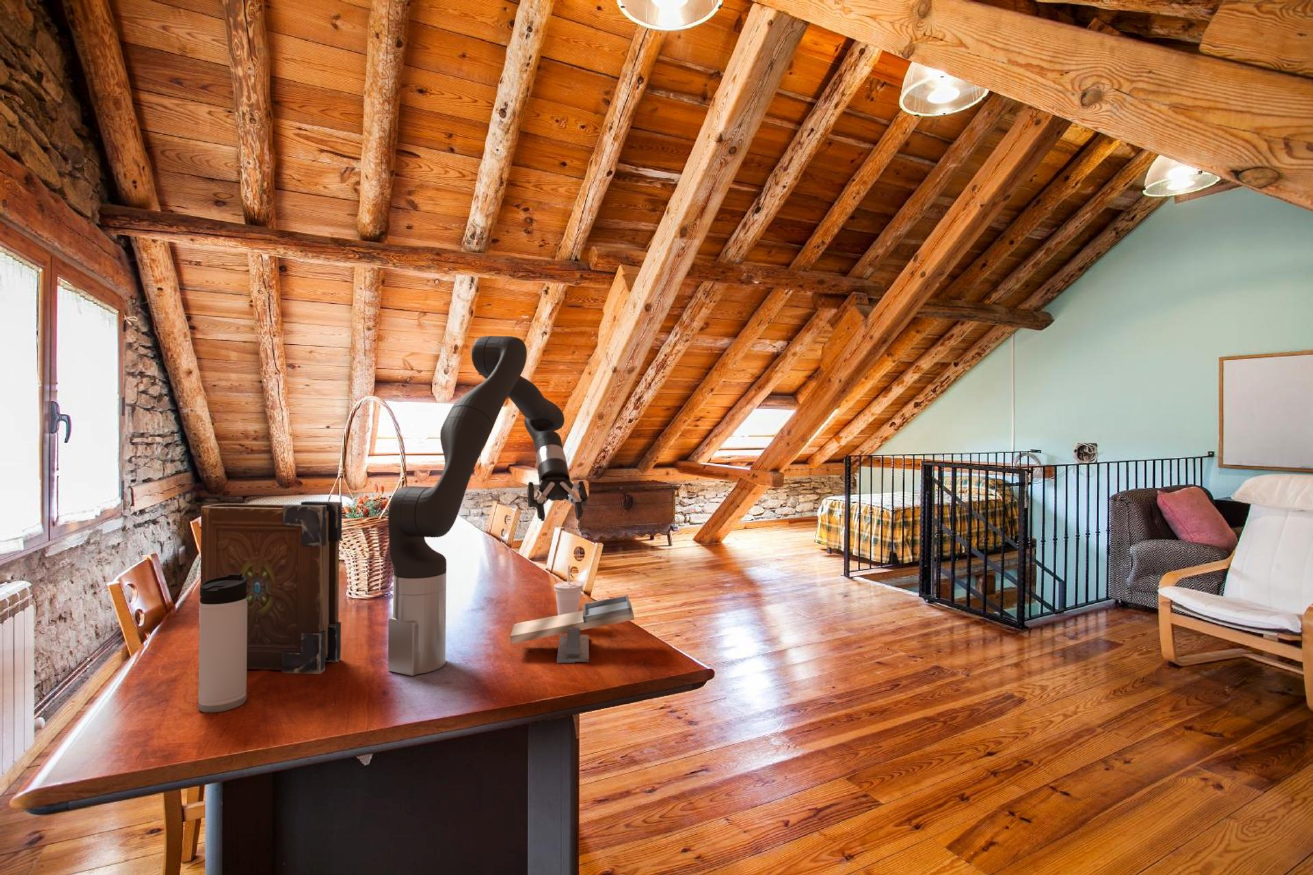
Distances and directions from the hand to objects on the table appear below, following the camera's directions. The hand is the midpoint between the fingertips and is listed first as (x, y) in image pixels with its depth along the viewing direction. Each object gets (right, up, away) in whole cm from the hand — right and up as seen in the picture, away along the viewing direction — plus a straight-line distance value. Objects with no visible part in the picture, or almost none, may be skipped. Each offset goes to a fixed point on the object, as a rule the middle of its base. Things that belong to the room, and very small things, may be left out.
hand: (561, 518), depth 150 cm
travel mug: (-46, -23, -50) cm, 72 cm away
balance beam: (+6, -19, -23) cm, 30 cm away
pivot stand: (+6, -24, -23) cm, 33 cm away
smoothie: (+3, -24, -8) cm, 25 cm away
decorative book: (-49, -23, -33) cm, 64 cm away
